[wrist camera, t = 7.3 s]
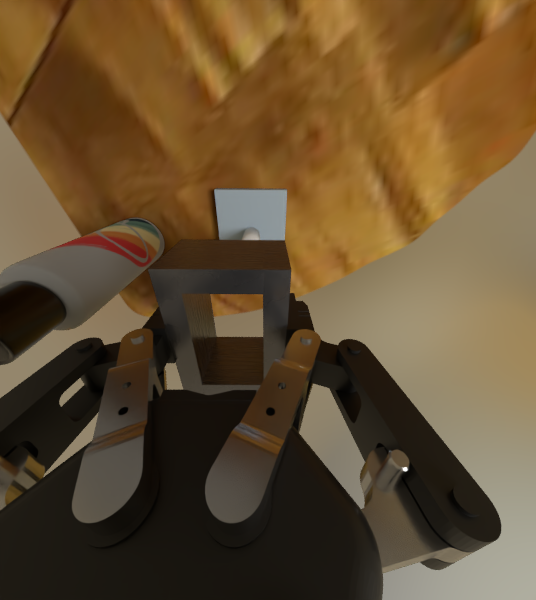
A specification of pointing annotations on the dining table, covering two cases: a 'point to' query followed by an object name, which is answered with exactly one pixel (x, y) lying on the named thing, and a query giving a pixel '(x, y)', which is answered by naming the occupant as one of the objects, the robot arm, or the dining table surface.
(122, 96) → the dining table surface
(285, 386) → the robot arm
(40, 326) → the lotion bottle
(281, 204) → the grey base with peg
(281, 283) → the link
